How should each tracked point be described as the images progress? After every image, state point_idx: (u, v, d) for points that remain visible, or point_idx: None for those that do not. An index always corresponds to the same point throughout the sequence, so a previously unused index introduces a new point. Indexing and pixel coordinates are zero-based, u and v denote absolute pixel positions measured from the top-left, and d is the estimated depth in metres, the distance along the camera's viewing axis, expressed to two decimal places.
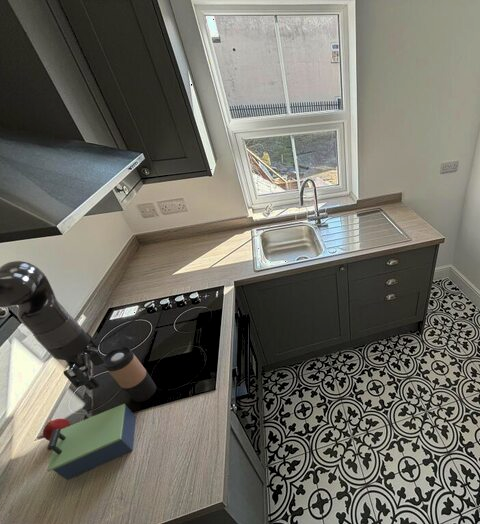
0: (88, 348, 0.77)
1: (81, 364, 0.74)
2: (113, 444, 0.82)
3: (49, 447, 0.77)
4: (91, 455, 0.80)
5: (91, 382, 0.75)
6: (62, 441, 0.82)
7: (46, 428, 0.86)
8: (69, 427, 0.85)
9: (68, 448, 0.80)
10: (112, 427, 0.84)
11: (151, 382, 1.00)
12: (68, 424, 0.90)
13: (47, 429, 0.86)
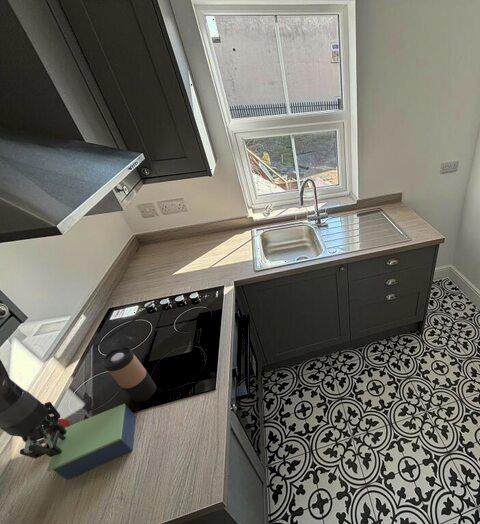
0: (46, 418, 0.76)
1: (37, 437, 0.73)
2: (113, 444, 0.82)
3: None
4: (91, 455, 0.80)
5: (52, 450, 0.76)
6: (62, 441, 0.82)
7: None
8: (69, 427, 0.85)
9: (68, 448, 0.80)
10: (112, 427, 0.84)
11: (151, 382, 1.00)
12: (68, 424, 0.90)
13: None
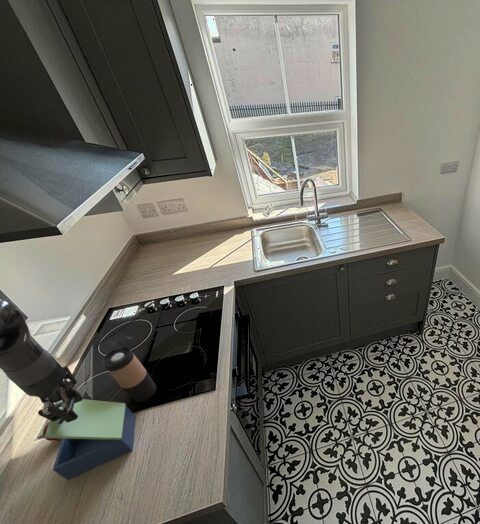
0: (64, 381, 0.74)
1: (55, 400, 0.70)
2: (113, 444, 0.82)
3: None
4: (91, 455, 0.80)
5: (69, 414, 0.74)
6: None
7: (46, 428, 0.86)
8: None
9: (69, 422, 0.77)
10: (114, 422, 0.84)
11: (151, 382, 1.00)
12: None
13: None
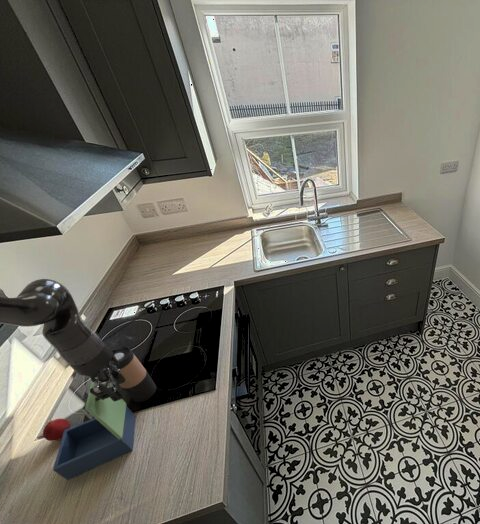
0: (110, 362, 0.77)
1: (104, 379, 0.74)
2: (113, 444, 0.82)
3: None
4: (91, 455, 0.80)
5: (116, 394, 0.77)
6: None
7: (46, 428, 0.86)
8: None
9: (99, 402, 0.78)
10: (120, 419, 0.84)
11: (151, 382, 1.00)
12: (68, 424, 0.90)
13: (47, 429, 0.86)
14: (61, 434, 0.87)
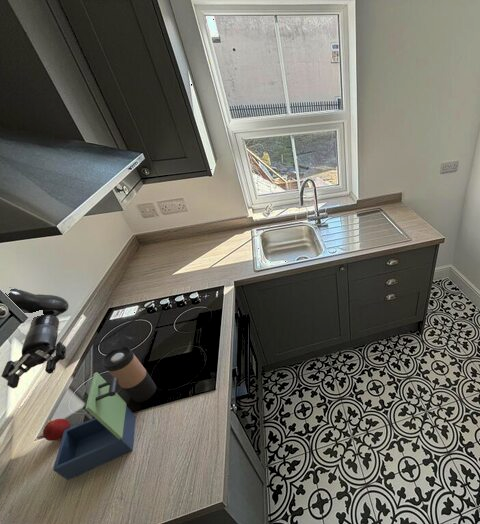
0: None
1: (51, 354, 0.94)
2: (113, 444, 0.82)
3: (113, 393, 0.78)
4: (91, 455, 0.80)
5: None
6: (97, 388, 0.79)
7: (46, 428, 0.86)
8: (102, 380, 0.82)
9: (99, 402, 0.78)
10: (120, 419, 0.84)
11: (151, 382, 1.00)
12: (68, 424, 0.90)
13: (47, 429, 0.86)
14: (61, 434, 0.87)
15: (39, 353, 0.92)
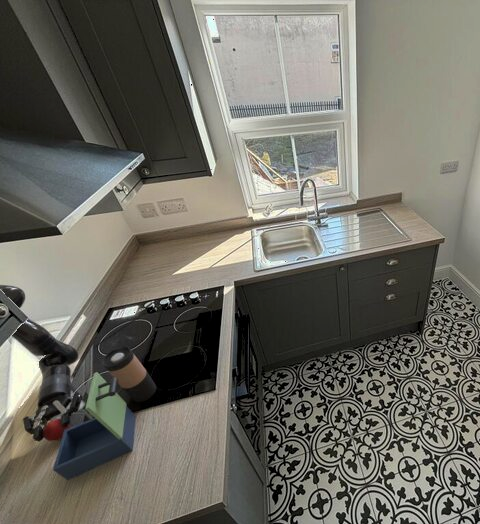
0: None
1: None
2: (113, 444, 0.82)
3: (113, 393, 0.78)
4: (91, 455, 0.80)
5: None
6: (97, 388, 0.79)
7: (46, 429, 0.86)
8: (102, 380, 0.82)
9: (99, 402, 0.78)
10: (120, 419, 0.84)
11: (151, 382, 1.00)
12: None
13: (47, 429, 0.86)
14: (60, 434, 0.87)
15: (56, 404, 0.91)
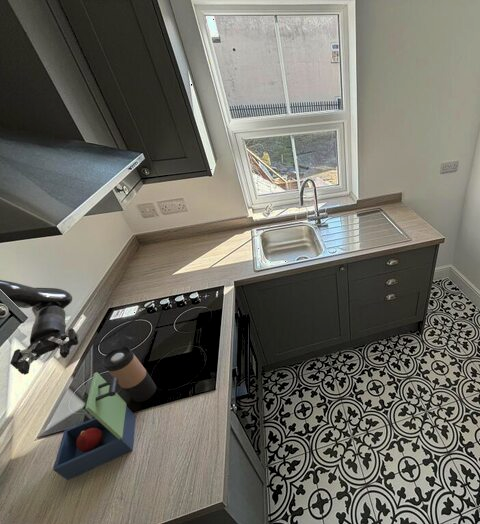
0: None
1: None
2: (113, 444, 0.82)
3: (113, 393, 0.78)
4: (91, 455, 0.80)
5: None
6: (97, 388, 0.79)
7: (80, 439, 0.82)
8: (102, 380, 0.82)
9: (99, 402, 0.78)
10: (120, 419, 0.84)
11: (151, 382, 1.00)
12: (101, 434, 0.86)
13: (80, 439, 0.82)
14: (94, 444, 0.84)
15: (50, 339, 0.87)
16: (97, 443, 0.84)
